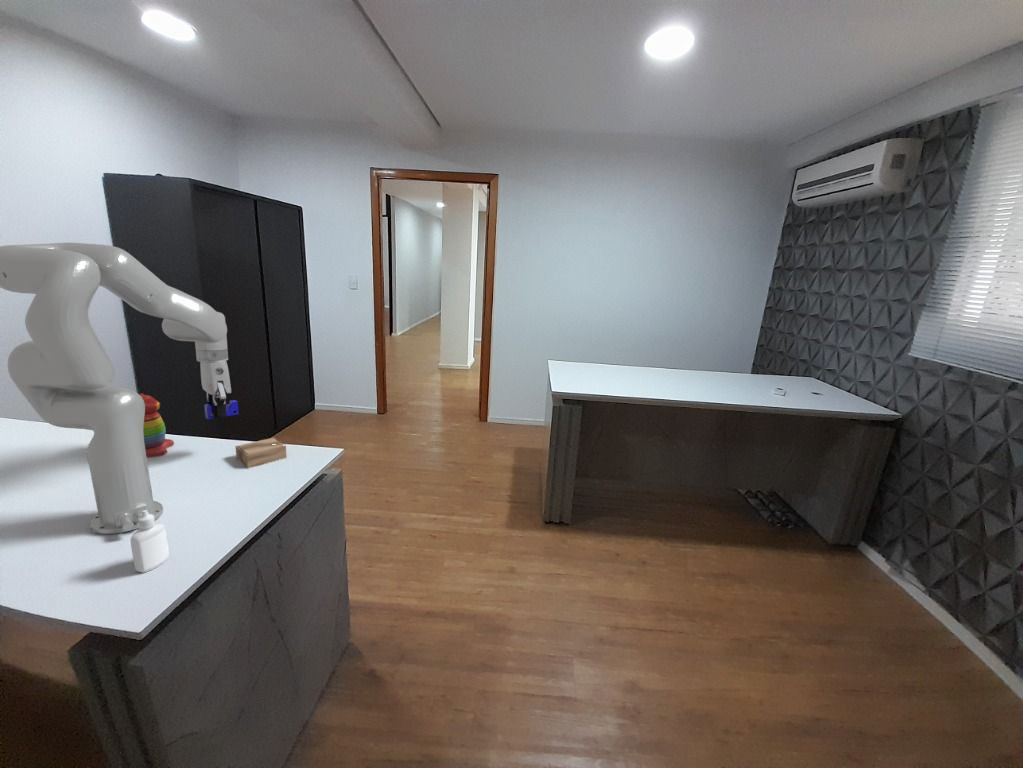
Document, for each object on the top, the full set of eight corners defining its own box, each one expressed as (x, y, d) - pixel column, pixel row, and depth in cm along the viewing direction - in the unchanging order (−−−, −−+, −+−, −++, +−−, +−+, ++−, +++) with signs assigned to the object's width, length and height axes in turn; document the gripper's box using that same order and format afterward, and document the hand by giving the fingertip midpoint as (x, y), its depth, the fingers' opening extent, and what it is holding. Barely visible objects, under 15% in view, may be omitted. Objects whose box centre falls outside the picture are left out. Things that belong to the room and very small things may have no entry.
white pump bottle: (173, 563, 87) (165, 510, 84) (137, 576, 83) (127, 521, 80) (168, 552, 90) (160, 501, 87) (132, 565, 86) (123, 511, 83)
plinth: (286, 457, 135) (285, 445, 134) (248, 468, 127) (246, 455, 126) (274, 448, 141) (273, 436, 140) (236, 458, 132) (235, 445, 131)
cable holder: (233, 411, 134) (232, 398, 133) (238, 414, 131) (237, 401, 131) (203, 416, 127) (202, 403, 126) (208, 419, 125) (206, 406, 124)
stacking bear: (164, 456, 130) (156, 400, 126) (121, 459, 126) (112, 401, 122) (176, 442, 140) (169, 389, 135) (136, 445, 136) (128, 390, 131)
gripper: (237, 358, 122) (242, 420, 126) (217, 349, 132) (222, 406, 137) (206, 361, 116) (212, 425, 121) (187, 351, 127) (193, 411, 131)
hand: (217, 415), depth 129 cm, fingers closed on cable holder, 3 cm apart
